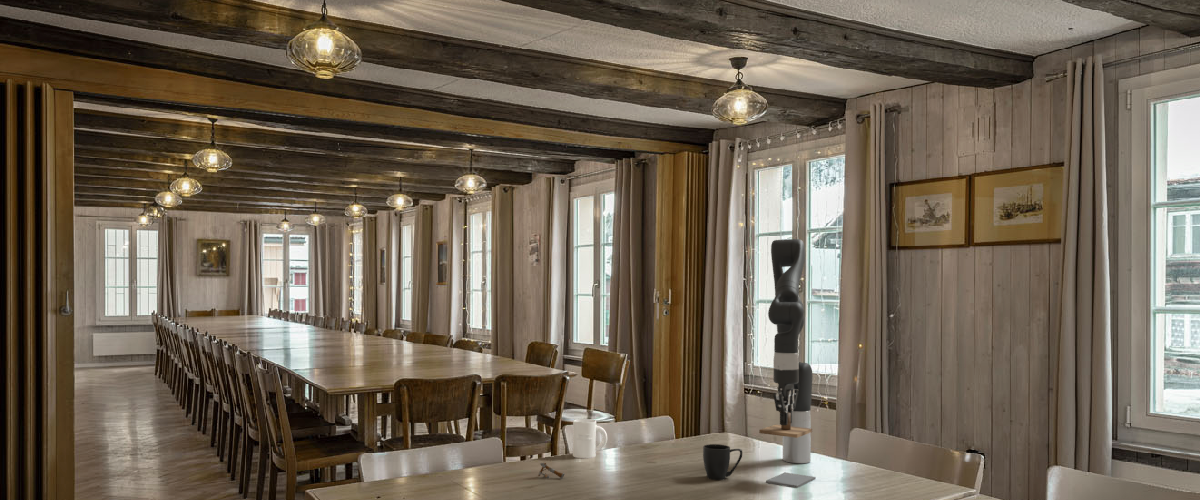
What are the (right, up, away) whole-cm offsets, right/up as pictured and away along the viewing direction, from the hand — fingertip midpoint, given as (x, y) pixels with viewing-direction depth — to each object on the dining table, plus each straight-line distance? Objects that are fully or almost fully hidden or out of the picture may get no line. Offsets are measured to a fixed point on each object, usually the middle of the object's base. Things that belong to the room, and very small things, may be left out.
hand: (785, 423), depth 250 cm
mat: (+1, -17, -1) cm, 17 cm away
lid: (0, -3, 0) cm, 3 cm away
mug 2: (-19, -17, +2) cm, 26 cm away
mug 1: (-60, -18, +32) cm, 70 cm away
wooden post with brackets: (-72, -17, -1) cm, 73 cm away
